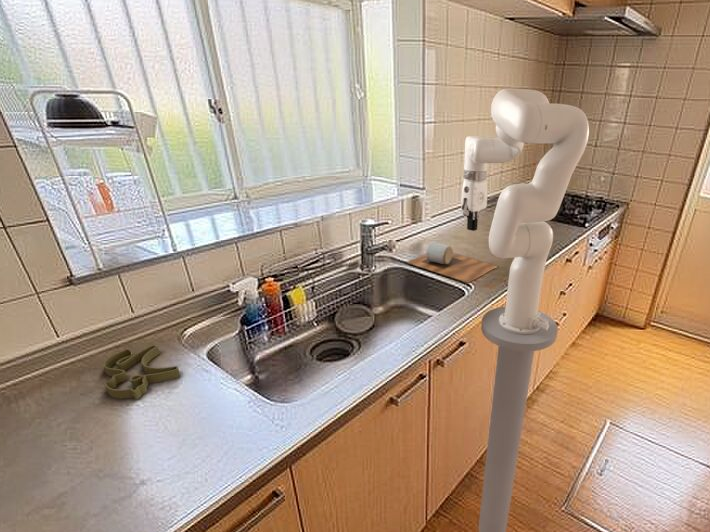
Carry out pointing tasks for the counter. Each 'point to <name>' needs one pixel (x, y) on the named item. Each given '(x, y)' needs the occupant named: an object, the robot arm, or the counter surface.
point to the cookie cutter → (138, 381)
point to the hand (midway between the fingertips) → (472, 229)
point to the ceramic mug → (439, 253)
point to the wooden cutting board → (456, 267)
